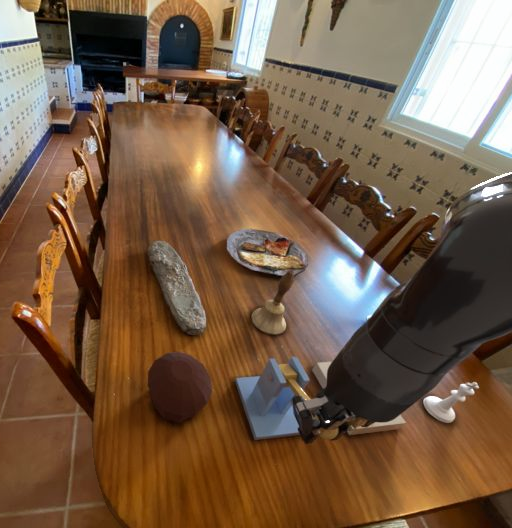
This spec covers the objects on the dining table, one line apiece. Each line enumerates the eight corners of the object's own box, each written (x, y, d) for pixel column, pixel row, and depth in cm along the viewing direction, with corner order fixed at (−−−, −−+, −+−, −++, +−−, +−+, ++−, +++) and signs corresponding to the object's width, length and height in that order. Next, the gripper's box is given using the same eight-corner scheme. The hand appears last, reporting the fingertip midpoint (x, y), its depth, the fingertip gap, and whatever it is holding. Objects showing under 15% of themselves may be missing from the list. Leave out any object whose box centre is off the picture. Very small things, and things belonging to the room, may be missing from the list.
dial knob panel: (397, 429, 54) (412, 418, 52) (349, 435, 53) (361, 424, 50) (353, 366, 64) (364, 354, 62) (311, 369, 63) (320, 357, 60)
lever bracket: (302, 434, 53) (333, 399, 45) (254, 440, 51) (277, 405, 43) (276, 377, 61) (298, 339, 53) (234, 381, 60) (250, 342, 52)
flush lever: (341, 443, 39) (347, 425, 38) (319, 446, 39) (324, 428, 38) (288, 376, 51) (291, 361, 50) (271, 378, 51) (273, 362, 50)
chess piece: (457, 426, 55) (500, 401, 49) (428, 417, 57) (465, 391, 50) (447, 402, 59) (485, 375, 53) (419, 393, 60) (453, 366, 54)
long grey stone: (174, 344, 67) (214, 337, 70) (178, 330, 64) (220, 323, 67) (140, 248, 92) (170, 245, 94) (142, 234, 88) (173, 232, 91)
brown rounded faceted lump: (137, 382, 58) (138, 352, 52) (186, 363, 62) (193, 333, 56) (162, 443, 50) (166, 416, 44) (217, 417, 54) (228, 389, 48)
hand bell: (254, 304, 77) (273, 255, 67) (287, 315, 74) (312, 267, 64) (248, 326, 71) (267, 277, 61) (283, 340, 68) (309, 290, 58)
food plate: (299, 241, 102) (302, 232, 99) (313, 287, 84) (318, 277, 81) (226, 230, 104) (228, 221, 102) (224, 271, 86) (226, 262, 84)
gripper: (342, 410, 27) (281, 472, 38) (472, 396, 29) (379, 458, 40) (302, 342, 33) (259, 412, 44) (412, 333, 35) (345, 403, 46)
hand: (316, 434), depth 42 cm, fingers closed on flush lever, 3 cm apart
